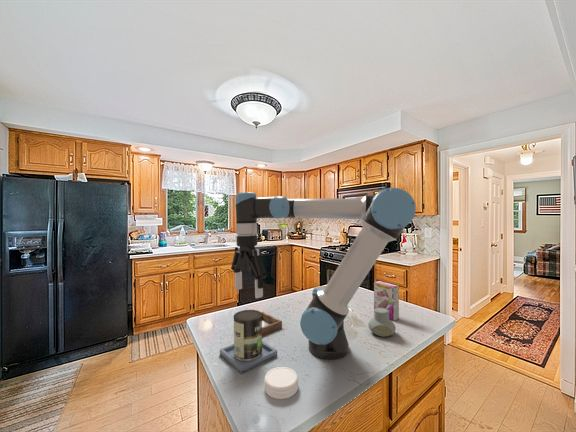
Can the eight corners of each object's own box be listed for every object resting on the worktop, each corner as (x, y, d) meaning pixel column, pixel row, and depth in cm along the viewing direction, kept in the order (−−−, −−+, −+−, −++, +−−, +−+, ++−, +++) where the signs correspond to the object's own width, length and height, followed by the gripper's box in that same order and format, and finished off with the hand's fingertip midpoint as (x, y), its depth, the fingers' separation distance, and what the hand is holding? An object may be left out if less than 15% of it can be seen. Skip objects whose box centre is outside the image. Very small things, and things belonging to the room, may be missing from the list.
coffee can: (265, 347, 94) (265, 310, 94) (257, 363, 84) (256, 321, 84) (240, 344, 96) (240, 308, 96) (229, 359, 86) (228, 319, 86)
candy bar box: (373, 314, 126) (373, 282, 126) (379, 311, 129) (379, 280, 129) (393, 321, 117) (393, 287, 117) (399, 319, 120) (399, 285, 120)
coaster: (260, 398, 69) (260, 386, 69) (268, 375, 79) (268, 364, 79) (296, 402, 68) (295, 389, 68) (300, 378, 78) (299, 367, 78)
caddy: (282, 327, 112) (282, 321, 112) (254, 338, 102) (254, 331, 102) (262, 317, 124) (262, 311, 124) (236, 327, 114) (236, 320, 114)
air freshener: (368, 336, 104) (368, 312, 104) (368, 327, 112) (368, 305, 111) (396, 339, 100) (396, 315, 100) (394, 330, 108) (394, 307, 108)
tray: (277, 355, 90) (277, 350, 90) (241, 373, 80) (241, 367, 80) (253, 340, 101) (253, 335, 101) (219, 354, 91) (219, 349, 91)
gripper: (276, 235, 84) (278, 298, 83) (238, 233, 102) (239, 284, 102) (258, 237, 79) (259, 304, 78) (221, 234, 97) (222, 288, 97)
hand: (248, 293), depth 90 cm, fingers open, 13 cm apart
